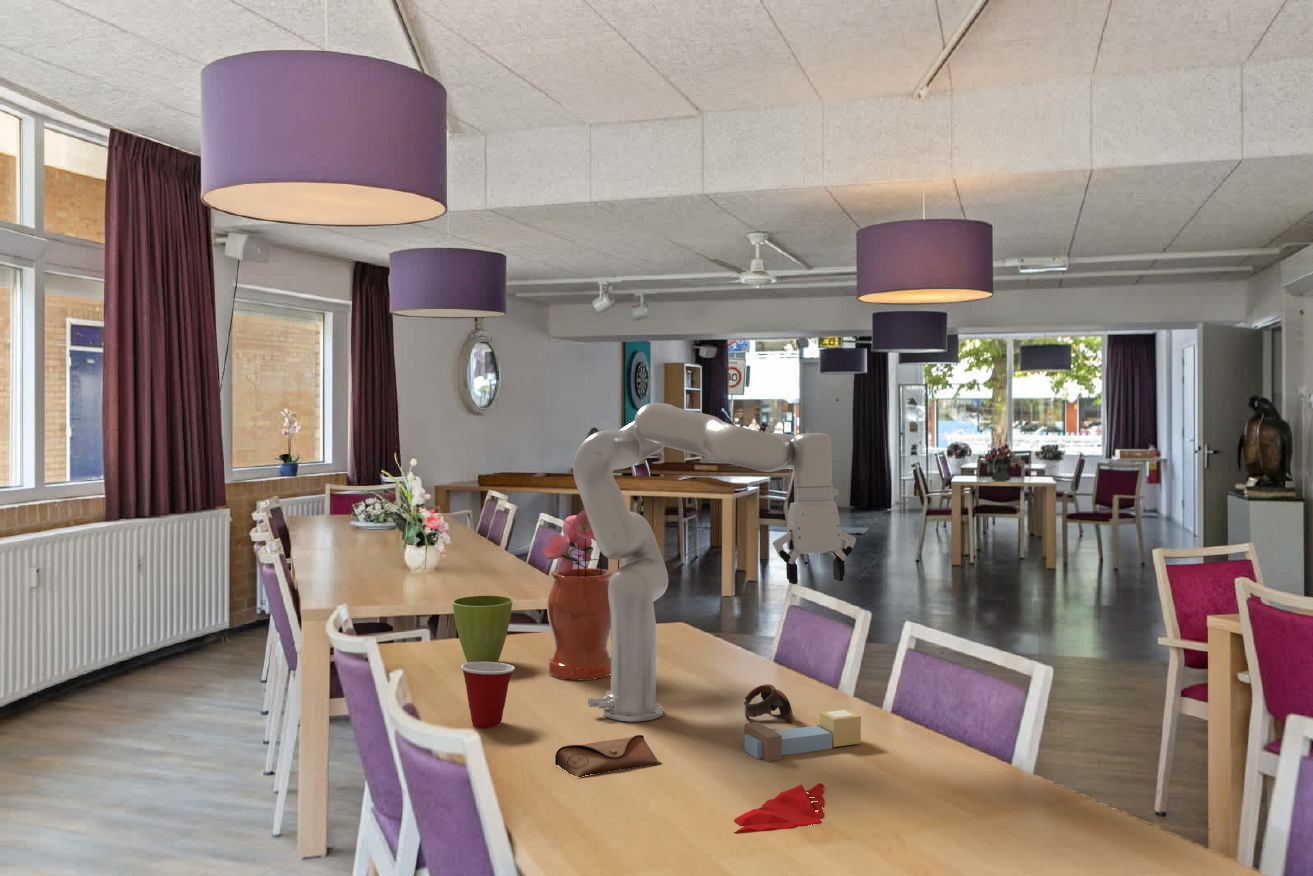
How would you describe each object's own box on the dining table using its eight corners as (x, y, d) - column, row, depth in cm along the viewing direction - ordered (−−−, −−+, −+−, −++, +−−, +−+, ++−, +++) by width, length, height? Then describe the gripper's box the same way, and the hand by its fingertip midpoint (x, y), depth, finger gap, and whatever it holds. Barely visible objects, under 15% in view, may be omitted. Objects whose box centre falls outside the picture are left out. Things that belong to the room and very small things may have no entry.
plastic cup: (525, 723, 204) (525, 664, 204) (482, 735, 196) (482, 674, 196) (492, 712, 211) (492, 655, 211) (449, 723, 203) (449, 664, 203)
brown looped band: (798, 729, 203) (781, 696, 201) (756, 747, 205) (738, 714, 203) (794, 698, 215) (777, 667, 213) (754, 715, 216) (737, 684, 215)
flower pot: (484, 674, 243) (485, 608, 243) (439, 665, 251) (439, 601, 251) (524, 661, 256) (524, 599, 256) (480, 654, 264) (480, 593, 264)
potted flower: (652, 672, 246) (654, 488, 245) (567, 689, 230) (568, 492, 229) (605, 658, 261) (607, 484, 260) (522, 673, 244) (523, 488, 244)
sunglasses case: (574, 779, 172) (566, 740, 175) (559, 789, 177) (552, 751, 180) (665, 763, 181) (656, 726, 184) (649, 773, 186) (640, 737, 189)
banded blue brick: (762, 762, 182) (762, 738, 182) (739, 747, 190) (739, 724, 190) (838, 752, 188) (838, 728, 188) (812, 737, 196) (813, 715, 196)
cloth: (757, 850, 146) (757, 835, 146) (695, 821, 157) (695, 806, 157) (874, 809, 162) (874, 795, 162) (810, 784, 173) (811, 771, 173)
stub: (833, 747, 190) (833, 719, 190) (819, 739, 194) (819, 712, 194) (860, 743, 192) (860, 715, 192) (846, 735, 197) (846, 708, 197)
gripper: (845, 492, 205) (848, 576, 205) (765, 496, 201) (768, 582, 201) (862, 494, 198) (864, 581, 198) (779, 498, 193) (782, 587, 193)
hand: (815, 581), depth 199 cm, fingers open, 9 cm apart
